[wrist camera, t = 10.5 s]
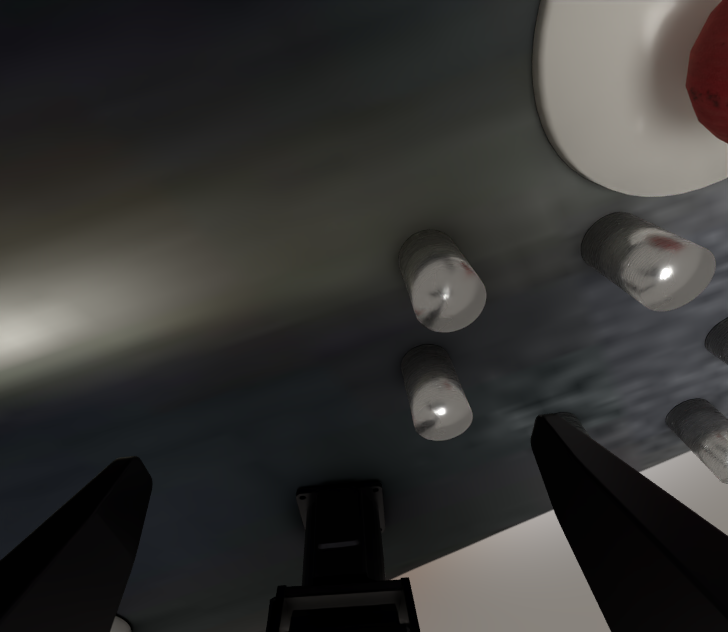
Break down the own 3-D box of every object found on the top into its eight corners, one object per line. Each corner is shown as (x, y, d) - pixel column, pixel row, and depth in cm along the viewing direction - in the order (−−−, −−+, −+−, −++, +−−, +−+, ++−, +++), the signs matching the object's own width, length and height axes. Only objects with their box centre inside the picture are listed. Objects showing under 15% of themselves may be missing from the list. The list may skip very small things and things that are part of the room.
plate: (777, 177, 18) (803, 183, 17) (511, 202, 18) (521, 209, 17) (997, -271, 11) (1062, -306, 10) (571, -240, 11) (594, -272, 10)
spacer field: (699, 426, 28) (757, 481, 24) (403, 456, 28) (414, 517, 24) (835, 192, 19) (961, 220, 15) (397, 232, 19) (413, 272, 15)
